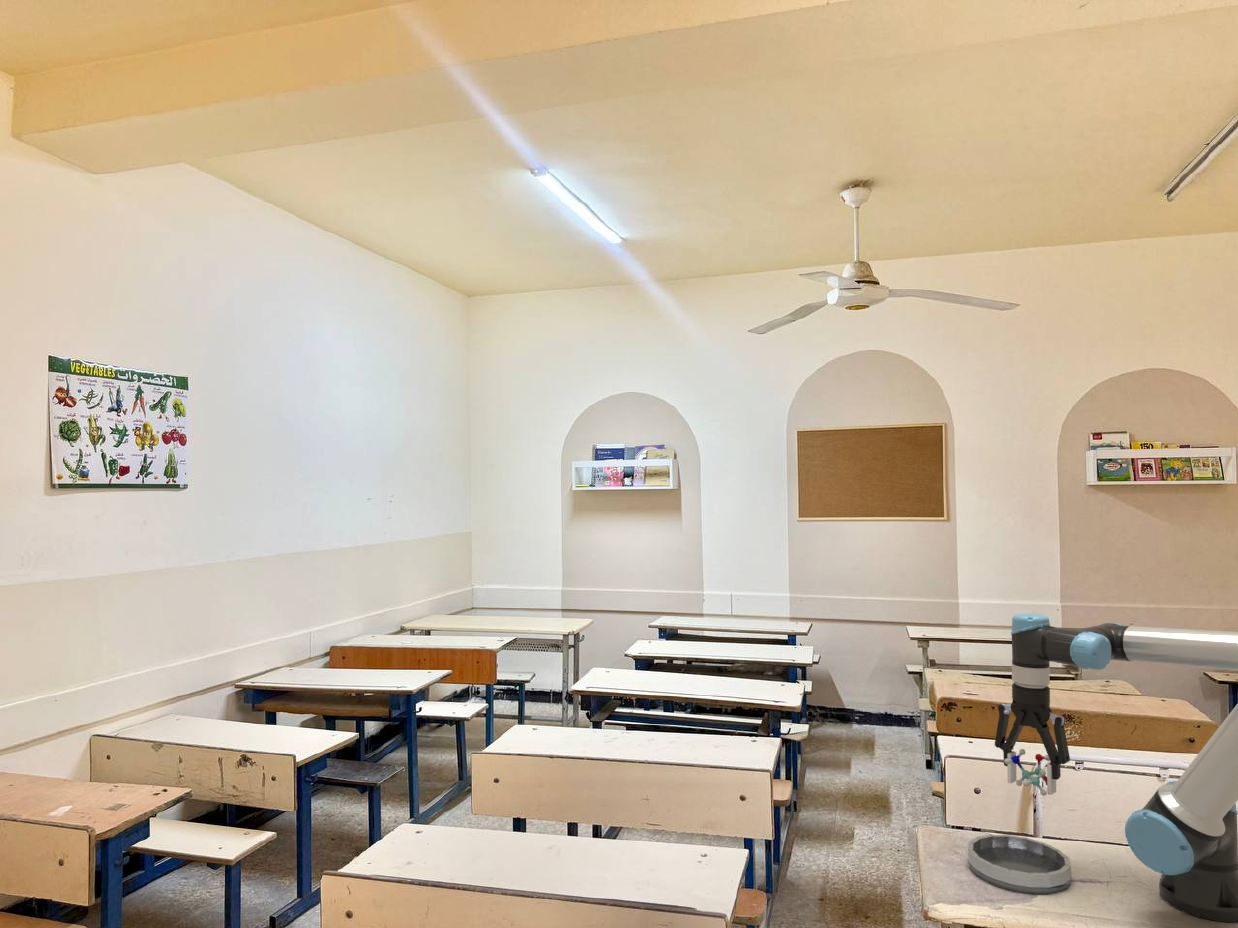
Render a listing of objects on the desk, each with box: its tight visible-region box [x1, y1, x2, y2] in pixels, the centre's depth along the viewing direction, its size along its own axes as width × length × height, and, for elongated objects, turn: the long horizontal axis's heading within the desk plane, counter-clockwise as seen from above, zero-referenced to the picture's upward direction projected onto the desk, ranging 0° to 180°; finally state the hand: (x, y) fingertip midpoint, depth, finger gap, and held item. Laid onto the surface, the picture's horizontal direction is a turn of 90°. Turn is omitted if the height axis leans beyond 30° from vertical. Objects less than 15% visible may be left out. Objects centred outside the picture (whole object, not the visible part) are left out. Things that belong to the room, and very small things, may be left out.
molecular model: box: [1003, 748, 1051, 797], centre depth 180 cm, size 12×10×10 cm
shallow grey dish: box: [967, 834, 1072, 896], centre depth 177 cm, size 20×20×4 cm
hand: (1031, 786), depth 179 cm, fingers closed on molecular model, 8 cm apart
